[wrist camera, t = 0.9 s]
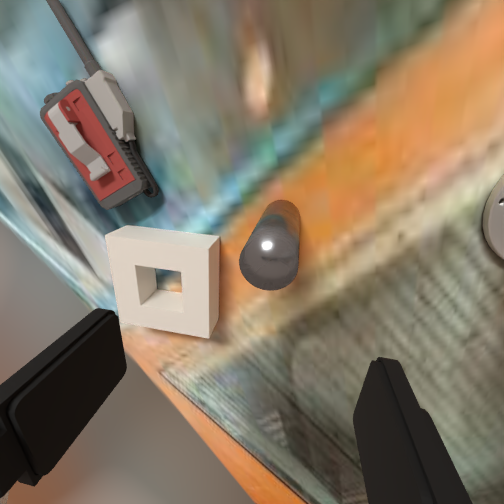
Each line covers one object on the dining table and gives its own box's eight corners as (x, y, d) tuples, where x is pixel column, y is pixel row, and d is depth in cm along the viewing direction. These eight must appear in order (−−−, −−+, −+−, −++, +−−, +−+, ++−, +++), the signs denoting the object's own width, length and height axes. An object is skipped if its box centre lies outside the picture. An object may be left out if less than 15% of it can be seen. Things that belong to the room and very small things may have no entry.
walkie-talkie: (178, 184, 29) (65, -14, 24) (159, 190, 25) (17, -46, 20) (124, 215, 32) (11, 45, 27) (98, 225, 28) (-40, 28, 23)
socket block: (219, 236, 30) (208, 248, 27) (218, 318, 35) (209, 338, 31) (127, 224, 32) (104, 235, 28) (138, 304, 37) (120, 322, 33)
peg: (302, 201, 27) (302, 240, 16) (297, 237, 29) (294, 294, 18) (264, 198, 28) (240, 233, 17) (262, 233, 29) (238, 285, 18)
